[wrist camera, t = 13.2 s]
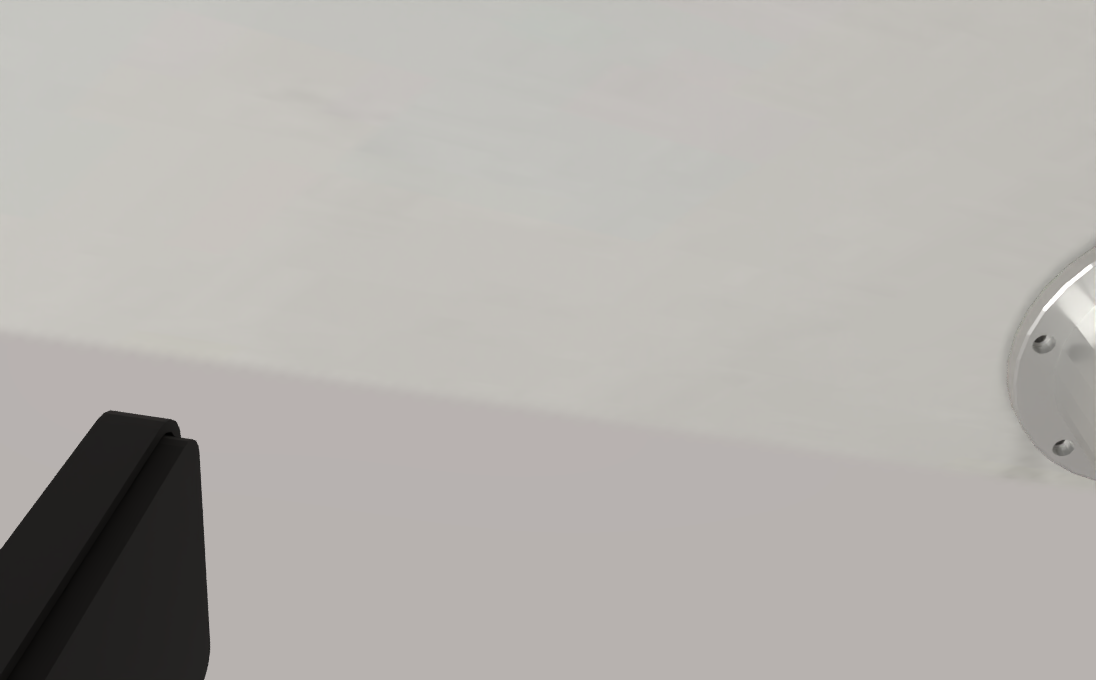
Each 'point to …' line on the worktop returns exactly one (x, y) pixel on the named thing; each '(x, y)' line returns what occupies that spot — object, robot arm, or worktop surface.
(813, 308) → the worktop surface
